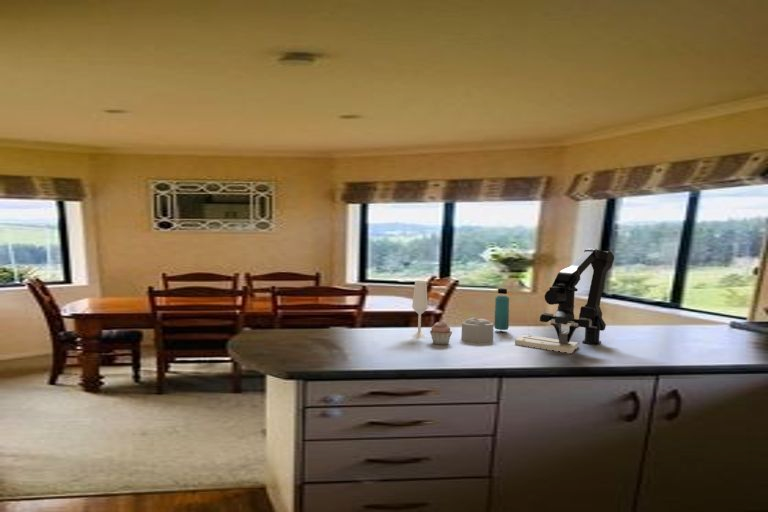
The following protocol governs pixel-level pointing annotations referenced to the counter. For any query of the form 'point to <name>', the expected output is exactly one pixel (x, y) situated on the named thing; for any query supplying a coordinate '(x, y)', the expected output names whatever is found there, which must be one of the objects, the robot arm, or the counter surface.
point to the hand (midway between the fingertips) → (564, 341)
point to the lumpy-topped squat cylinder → (477, 330)
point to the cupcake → (440, 333)
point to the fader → (563, 337)
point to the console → (546, 343)
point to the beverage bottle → (501, 310)
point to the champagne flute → (420, 304)
